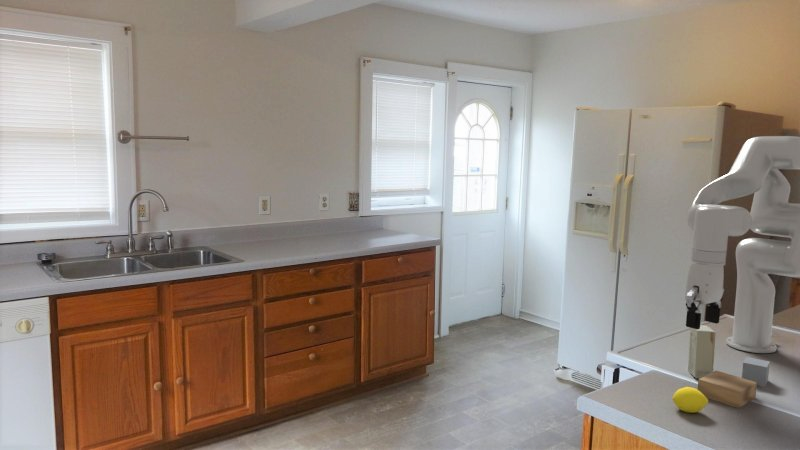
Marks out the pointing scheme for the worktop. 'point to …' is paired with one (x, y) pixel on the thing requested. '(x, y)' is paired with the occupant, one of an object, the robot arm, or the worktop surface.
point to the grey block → (756, 370)
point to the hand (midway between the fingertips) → (702, 325)
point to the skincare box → (701, 351)
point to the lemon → (689, 400)
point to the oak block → (727, 388)
